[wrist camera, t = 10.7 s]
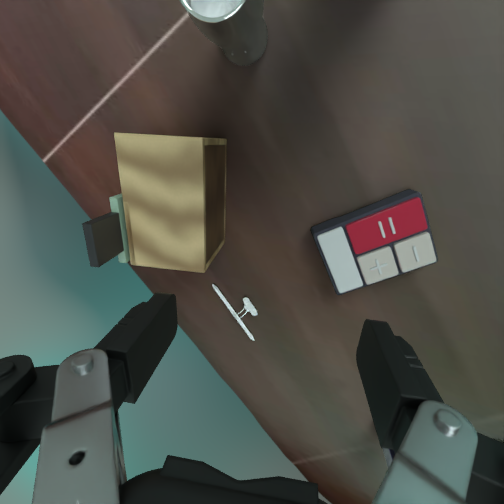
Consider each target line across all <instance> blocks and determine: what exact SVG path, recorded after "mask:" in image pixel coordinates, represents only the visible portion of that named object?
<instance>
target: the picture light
mask: <svg viewBox="0 0 504 504" xmlns="http://www.w3.org/2000/svg"><path fill="white" fill-rule="evenodd" d="M212 285H213V288H214V290H215V291H216V292H217V294H218V295H219V296H220V298H221V299H222V301H223V302H224V303H225V305H226V306H227V307H228V309H229V310H230V311H231V314H232V315H233V316H234V318H235V319H236V320H237V321H238V322H239V324H240V325H241V327H242V328H243V329H244V331H245V332H246V333H247V335H248V336H249V338H250V339H251V340H253V341H254V337H253V335H252V334H251V333H250V332H249V330H248V329H247V328H246V326H245V325H244V323H243V322H242V321H241V319H240V318H241V317H243V316H244V315H245V314H246V313H247V312H250V313H251V314H252V315H253V316H256V315H258V313H257V310H256V309H255V308H254V306H253V305H252V303H251V302H250V300H249V299H248V298H247V297H245V298H243V302H244V304H245V305H244V308H245V309H246V310H247V311H246V313H245V314H244V315H243V316H241V317H240V318H239V317H238V314H239V313H238V314H236V312H235V311H234V310H233V308H232V307H231V305H230V304H229V303H228V301H227V300H226V299H225V297H224V296H223V294H222V293H221V292H220V290H219V289H218V287H217V286H215V285H214V284H212ZM243 310H244V309H243ZM243 310H242V311H243ZM242 311H241V312H242ZM241 312H240V313H241Z"/></svg>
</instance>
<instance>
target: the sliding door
mask: <svg viewBox="0 0 504 504" xmlns="http://www.w3.org/2000/svg"><path fill="white" fill-rule="evenodd" d="M110 205H111V212H110V213H108V214H105V215H103V216H100V217H98V218H95V219H93V220H90V221H87V222H85V223H83V224H82V225H83V230H84V235H85V240H86V245H87V250H88V256H89V261H90V266H92V267H100V266H101V265H103V264H104V263H106V262H107V261H109V260H110V259H112V258H114V257H115V256H117V255H118V258H119V262H121V263H127V262H128V261H129V260H131V259H130V252H129V244H128V237H127V229H126V221H125V214H124V206H123V198H122V194H119V195H116V196H113V197H110Z"/></svg>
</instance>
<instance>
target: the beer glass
mask: <svg viewBox="0 0 504 504" xmlns="http://www.w3.org/2000/svg"><path fill="white" fill-rule="evenodd" d="M180 2H181V4H182V5H183V6H184V8H185V9H186V11H187V13H188V14H189V16H190V18H191V19H192V21H193V22H194V24H195V25H196V26H197V28H198V29H199V30H200V31H201V32H202V34H203V35H204V36H205V37H206V38H207V39H209V40H210V41H211V42H213V43H214V44H216V45H217V46H219V47H221V48H222V50H223V52H224V54H225V56H226V57H227V58H228V60H230V61H231V62H232V63H234V64H236V65H238V66H248V65H251V64H253V63H255V62H256V61H258V60H259V59H260V57H261V56H262V55H263V53H264V51H265V49H266V46H267V41H268V31H267V26H266V23H265V20H264V19H263V10H264V0H180Z"/></svg>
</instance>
